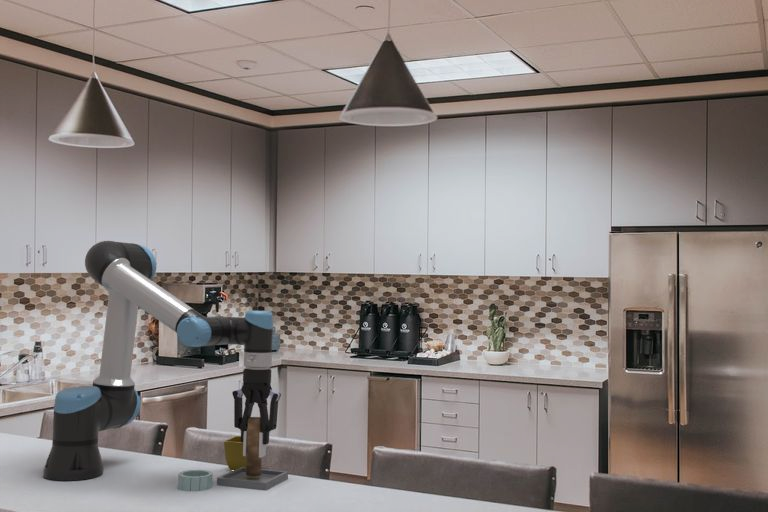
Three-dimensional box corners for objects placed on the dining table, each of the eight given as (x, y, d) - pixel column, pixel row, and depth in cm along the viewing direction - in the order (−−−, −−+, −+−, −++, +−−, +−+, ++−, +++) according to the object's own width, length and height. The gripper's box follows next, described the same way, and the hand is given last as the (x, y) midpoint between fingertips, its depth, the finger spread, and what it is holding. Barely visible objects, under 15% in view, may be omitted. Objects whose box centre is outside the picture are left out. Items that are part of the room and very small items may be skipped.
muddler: (243, 475, 205) (245, 418, 206) (250, 472, 209) (252, 416, 209) (256, 476, 204) (259, 419, 204) (263, 473, 207) (265, 417, 208)
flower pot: (251, 475, 217) (252, 442, 217) (222, 472, 218) (223, 440, 219) (262, 468, 225) (263, 437, 226) (234, 466, 227) (235, 435, 227)
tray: (216, 487, 201) (217, 477, 201) (241, 476, 215) (241, 467, 215) (265, 492, 197) (265, 482, 197) (287, 481, 211) (288, 471, 211)
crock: (171, 491, 196) (172, 475, 196) (189, 484, 204) (189, 468, 204) (201, 494, 193) (201, 478, 194) (217, 487, 201) (218, 471, 202)
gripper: (222, 367, 207) (218, 455, 205) (280, 370, 202) (277, 461, 200) (235, 365, 214) (232, 450, 212) (292, 368, 209) (289, 455, 208)
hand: (254, 455), depth 206 cm, fingers closed on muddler, 4 cm apart
